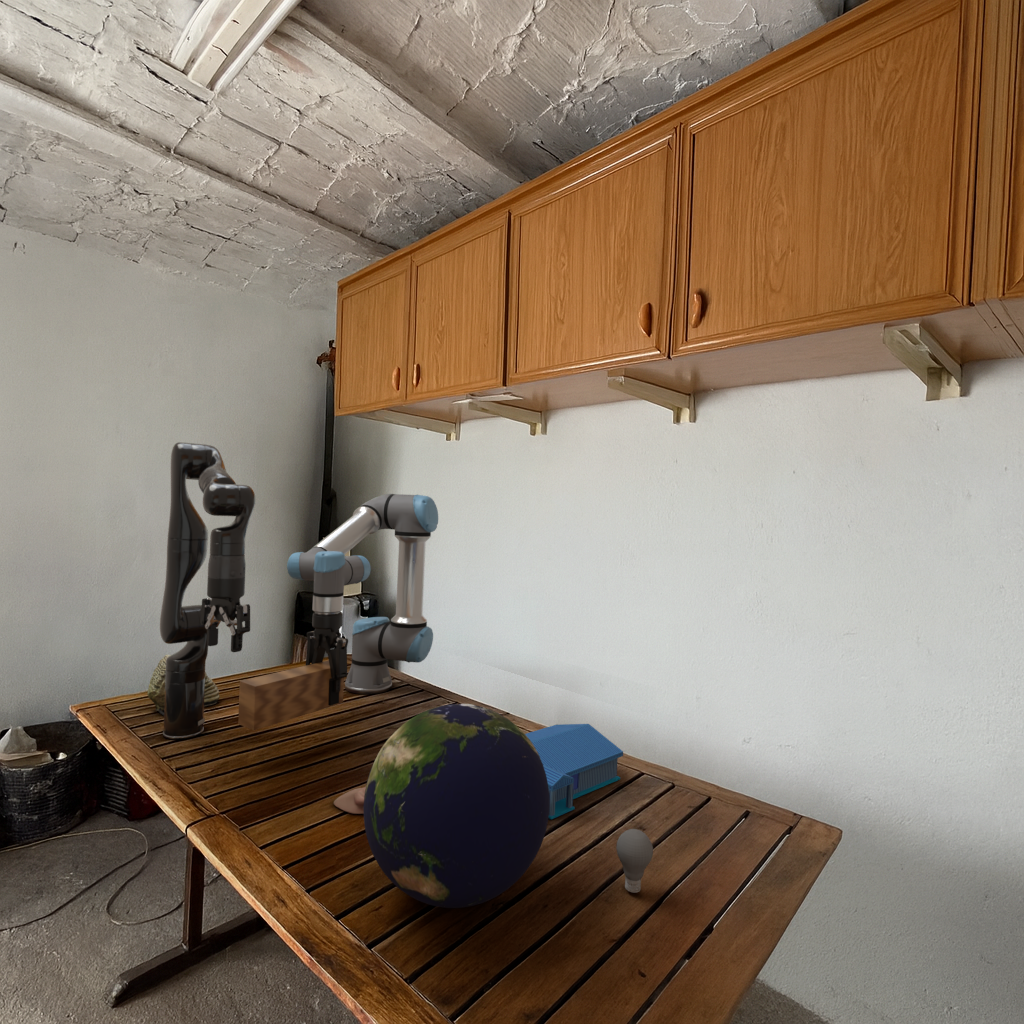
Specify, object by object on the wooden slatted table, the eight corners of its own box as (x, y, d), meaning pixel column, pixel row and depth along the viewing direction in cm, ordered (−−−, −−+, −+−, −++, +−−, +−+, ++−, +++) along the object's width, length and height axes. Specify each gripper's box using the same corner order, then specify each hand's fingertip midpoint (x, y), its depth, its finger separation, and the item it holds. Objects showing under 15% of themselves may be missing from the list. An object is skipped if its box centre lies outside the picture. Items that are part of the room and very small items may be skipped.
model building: (505, 839, 120) (507, 787, 120) (430, 791, 138) (432, 746, 138) (631, 784, 146) (633, 741, 146) (555, 749, 164) (556, 711, 164)
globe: (319, 919, 95) (326, 721, 95) (420, 827, 123) (427, 673, 122) (502, 984, 84) (511, 760, 83) (568, 867, 112) (576, 698, 111)
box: (253, 730, 143) (255, 686, 143) (238, 724, 147) (239, 681, 146) (343, 703, 164) (344, 664, 164) (327, 697, 167) (329, 660, 167)
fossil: (144, 707, 182) (145, 655, 182) (212, 696, 194) (213, 647, 194) (151, 716, 175) (153, 662, 175) (221, 703, 188) (223, 653, 188)
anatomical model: (326, 790, 128) (352, 767, 139) (326, 809, 128) (351, 785, 139) (388, 799, 125) (409, 775, 136) (387, 819, 125) (408, 793, 137)
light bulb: (610, 879, 108) (613, 822, 108) (644, 879, 109) (647, 822, 109) (619, 902, 102) (622, 840, 102) (655, 901, 103) (658, 840, 103)
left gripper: (262, 577, 138) (259, 650, 139) (222, 570, 146) (219, 640, 146) (231, 579, 132) (228, 657, 132) (191, 573, 139) (188, 646, 140)
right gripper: (364, 615, 160) (361, 705, 160) (316, 605, 171) (313, 689, 171) (341, 619, 154) (337, 713, 154) (292, 608, 165) (289, 696, 165)
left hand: (224, 648), depth 139 cm, fingers open, 8 cm apart
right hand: (324, 700), depth 163 cm, fingers closed on box, 6 cm apart
